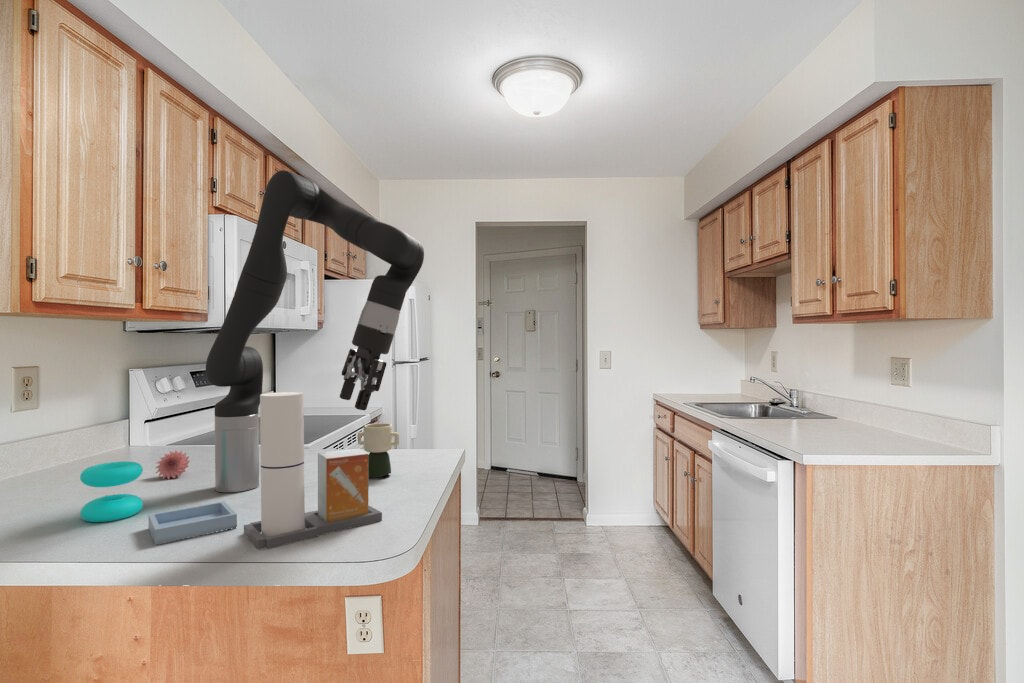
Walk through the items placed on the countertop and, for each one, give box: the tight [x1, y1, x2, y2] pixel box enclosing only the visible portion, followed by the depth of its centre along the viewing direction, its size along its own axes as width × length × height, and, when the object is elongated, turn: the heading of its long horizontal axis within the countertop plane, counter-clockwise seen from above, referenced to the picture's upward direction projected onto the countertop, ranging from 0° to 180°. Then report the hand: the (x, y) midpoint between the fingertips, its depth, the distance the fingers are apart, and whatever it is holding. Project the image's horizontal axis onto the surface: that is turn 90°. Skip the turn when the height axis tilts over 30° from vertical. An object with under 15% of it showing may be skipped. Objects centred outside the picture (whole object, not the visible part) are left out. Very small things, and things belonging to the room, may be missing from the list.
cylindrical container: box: [259, 391, 306, 538], centre depth 97 cm, size 7×7×25 cm
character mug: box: [357, 422, 400, 478], centre depth 137 cm, size 11×7×13 cm, turn 82°
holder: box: [243, 504, 383, 550], centre depth 100 cm, size 11×22×2 cm, turn 129°
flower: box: [155, 449, 191, 481], centre depth 139 cm, size 8×8×6 cm
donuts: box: [79, 461, 144, 523], centre depth 108 cm, size 10×10×10 cm
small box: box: [317, 447, 369, 523], centre depth 104 cm, size 8×6×13 cm
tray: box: [147, 500, 238, 546], centre depth 100 cm, size 11×13×3 cm
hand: (352, 404), depth 109 cm, fingers open, 8 cm apart
